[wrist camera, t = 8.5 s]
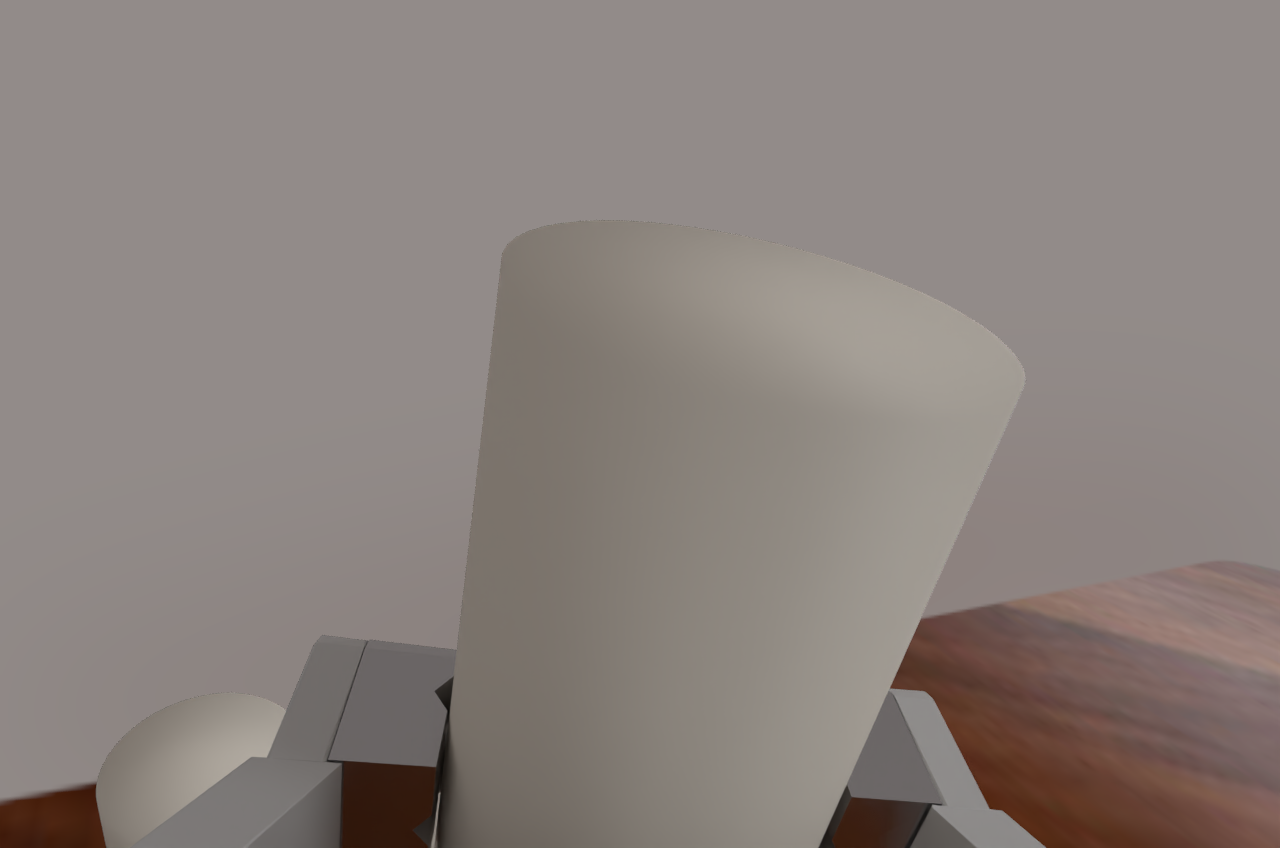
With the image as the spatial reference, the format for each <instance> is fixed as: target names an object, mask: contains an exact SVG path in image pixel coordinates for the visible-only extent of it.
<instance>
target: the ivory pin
mask: <svg viewBox="0 0 1280 848" xmlns="http://www.w3.org/2000/svg"><path fill="white" fill-rule="evenodd" d="M1024 385H1025V372H1024V369H1023V367H1022V365H1021V363H1020V361H1019V359H1018V358H1017V357H1016V355H1015V354H1014V353H1013V352H1012V351H1011V350H1010V348H1009V347H1008V346H1006V344H1005V343H1003V342H1002V341H1001V340H1000V339H999V338H998V337H997V336H996V335H994V334H993V333H992V332H990V331H989V330H987V329H986V328H985V327H983V326H982V325H981V324H979V323H978V322H976V321H974V320H973V319H971V318H969V317H968V316H966V315H965V314H963V313H961V312H959V311H958V310H956V309H954V308H952V307H950V306H948V305H947V304H944V303H943V302H941V301H939V300H937V299H935V298H933V297H930V296H928V295H926V294H924V293H922V292H920V291H918V290H916V289H913V288H911V287H908V286H906V285H904V284H901V283H899V282H897V281H894V280H892V279H889V278H886V277H884V276H881V275H879V274H876V273H874V272H871V271H868V270H865V269H862V268H859V267H856V266H854V265H850V264H848V263H844V262H841V261H838V260H835V259H832V258H828V257H825V256H822V255H818V254H815V253H812V252H808V251H804V250H801V249H797V248H793V247H789V246H785V245H781V244H777V243H774V242H769V241H765V240H760V239H756V238H751V237H746V236H742V235H736V234H731V233H726V232H721V231H714V230H708V229H702V228H696V227H688V226H681V225H673V224H663V223H652V222H638V221H614V220H613V221H611V220H601V221H600V220H599V221H578V222H568V223H560V224H554V225H549V226H544V227H540V228H537V229H534V230H530V231H528V232H526V233H524V234H521V235H520V236H517V237H516V238H515V239H513V240H512V241H511V242H510V243H509V244H507V246H506V248H505V249H504V251H503V253H502V259H501V269H500V278H499V286H498V294H497V303H496V312H495V321H494V330H493V338H492V347H491V356H490V364H489V373H488V382H487V390H486V399H485V408H484V417H483V426H482V435H481V443H480V452H479V461H478V469H477V478H476V487H475V496H474V505H473V513H472V521H471V531H470V539H469V548H468V556H467V565H466V574H465V583H464V591H463V600H462V609H461V618H460V627H459V635H458V645H457V653H456V661H455V670H454V679H453V687H452V696H451V705H450V714H449V722H448V731H447V740H446V749H445V757H444V766H443V775H442V784H441V792H440V801H439V810H438V819H437V827H436V836H435V845H434V848H818V847H819V845H820V843H821V841H822V838H823V836H824V834H825V832H826V830H827V827H828V825H829V823H830V821H831V818H832V816H833V814H834V812H835V809H836V807H837V805H838V803H839V800H840V798H841V796H842V794H843V791H844V789H845V787H846V785H847V782H848V780H849V778H850V776H851V774H852V771H853V769H854V767H855V765H856V762H857V760H858V758H859V756H860V753H861V751H862V749H863V747H864V744H865V742H866V740H867V738H868V735H869V733H870V731H871V729H872V727H873V724H874V722H875V720H876V718H877V715H878V713H879V711H880V709H881V706H882V704H883V702H884V700H885V697H886V695H887V693H888V691H889V688H890V686H891V684H892V682H893V680H894V677H895V675H896V673H897V671H898V668H899V666H900V664H901V662H902V659H903V657H904V655H905V653H906V650H907V648H908V646H909V644H910V641H911V639H912V637H913V635H914V633H915V630H916V628H917V626H918V624H919V621H920V619H921V617H922V615H923V612H924V610H925V608H926V606H927V603H928V601H929V599H930V597H931V594H932V592H933V590H934V588H935V585H936V583H937V581H938V579H939V576H940V574H941V572H942V570H943V567H944V565H945V563H946V561H947V559H948V556H949V554H950V552H951V550H952V547H953V545H954V543H955V541H956V538H957V536H958V534H959V532H960V530H961V527H962V525H963V523H964V521H965V518H966V516H967V514H968V512H969V509H970V507H971V505H972V503H973V500H974V498H975V496H976V494H977V491H978V489H979V487H980V485H981V483H982V480H983V478H984V476H985V474H986V471H987V469H988V467H989V464H990V462H991V460H992V458H993V456H994V453H995V451H996V449H997V447H998V444H999V442H1000V440H1001V438H1002V435H1003V433H1004V431H1005V429H1006V427H1007V424H1008V422H1009V420H1010V418H1011V415H1012V413H1013V411H1014V409H1015V406H1016V404H1017V402H1018V400H1019V397H1020V395H1021V393H1022V390H1023V388H1024Z"/></svg>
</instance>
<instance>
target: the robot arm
mask: <svg viewBox="0 0 1280 848" xmlns="http://www.w3.org/2000/svg"><path fill="white" fill-rule="evenodd" d="M456 653H457V650H453V649H445V648H436V647H427V646H419V645H410V644H402V643H393V642H385V641H376V640H369V641H366V640H358V639H350V638H342V637H333V636H326V635H322V636H321V637H320V638H319V639H318V640H317V642H316V643H315V644H314V645H313V648H312V650H311V653H310V655H309V658H308V660H307V662H306V664H305V667H304V669H303V672H302V674H301V677H300V679H299V681H298V684H297V686H296V688H295V691H294V693H293V696H292V698H291V701H290V703H289V705H288V708H287V710H286V713H285V715H284V717H283V720H282V722H281V725H280V727H279V729H278V732H277V734H276V737H275V739H274V741H273V744H272V746H271V749H270V751H269V753H268V756H267V758H266V757H250V758H249V759H248V760H246V761H245V762H244V763H242V764H241V765H240V766H238V767H237V768H236V769H234V770H233V771H232V772H230V773H229V774H228V775H226V776H225V777H224V778H222V779H221V780H220V781H218V782H217V783H216V784H214V785H213V786H212V787H210V788H209V789H208V790H206V791H205V792H204V793H202V794H201V795H200V796H198V797H197V798H196V799H194V800H193V801H192V802H190V803H189V804H188V805H186V806H185V807H184V808H182V809H181V810H180V811H178V812H177V813H176V814H174V815H173V816H172V817H170V818H169V819H168V820H166V821H165V822H164V823H162V824H161V825H160V826H158V827H157V828H156V829H154V830H153V831H152V832H150V833H149V834H148V835H146V836H145V837H144V838H142V839H141V840H140V841H138V842H137V843H136V844H134V845H133V846H132V847H130V848H431V845H432V839H433V834H434V828H435V820H436V811H437V803H438V795H439V793H440V792H441V784H442V775H443V766H444V757H445V749H446V740H447V731H448V722H449V714H450V705H451V696H452V687H453V679H454V670H455V661H456ZM818 848H1046V847H1045V846H1043V845H1042V844H1041V843H1040V842H1039V841H1037V840H1036V839H1035V838H1034V837H1033V836H1032V835H1030V834H1029V833H1028V832H1027V831H1026V830H1024V829H1023V828H1022V827H1021V826H1020V825H1019V824H1017V823H1016V822H1015V821H1014V820H1013V819H1012V818H1010V817H1009V816H1008V815H1007V814H1006V813H1004V812H1003V811H1001V810H991V809H989V807H988V805H987V803H986V801H985V799H984V797H983V795H982V793H981V791H980V789H979V787H978V785H977V783H976V781H975V779H974V777H973V776H972V774H971V772H970V770H969V768H968V766H967V764H966V762H965V760H964V758H963V756H962V754H961V752H960V750H959V748H958V746H957V744H956V742H955V740H954V739H953V737H952V735H951V733H950V731H949V729H948V727H947V725H946V723H945V721H944V719H943V717H942V715H941V713H940V711H939V709H938V707H937V705H936V704H935V702H934V700H933V698H932V697H930V696H929V695H928V694H927V693H926V692H925V691H913V690H900V689H889V691H888V693H887V695H886V697H885V700H884V702H883V704H882V706H881V709H880V711H879V713H878V715H877V718H876V720H875V722H874V724H873V727H872V729H871V731H870V733H869V735H868V738H867V740H866V742H865V744H864V747H863V749H862V751H861V753H860V756H859V758H858V760H857V762H856V765H855V767H854V769H853V771H852V774H851V776H850V778H849V780H848V782H847V785H846V787H845V789H844V791H843V794H842V796H841V798H840V800H839V803H838V805H837V807H836V809H835V812H834V814H833V816H832V818H831V821H830V823H829V825H828V827H827V830H826V832H825V834H824V836H823V838H822V841H821V843H820V845H819V847H818Z"/></svg>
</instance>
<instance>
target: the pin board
mask: <svg viewBox="0 0 1280 848" xmlns="http://www.w3.org/2000/svg"><path fill="white" fill-rule="evenodd" d="M285 713H286V710H285V709H283V708H282V707H281V706H279V705H278V704H276V703H274V702H272V701H270V700H267V699H265V698H262V697H259V696H254V695H250V694H243V693H216V694H209V695H203V696H198V697H194V698H190V699H187V700H184V701H181V702H178V703H176V704H173V705H171V706H168V707H166V708H164V709H162V710H160V711H158V712H156V713H154V714H152V715H151V716H149V717H148V718H146V719H145V720H143V721H142V722H140V723H139V724H138V725H136V726H135V727H134V728H132V729H131V730H130V731H129V732H128V733H127V734H126V735H125V736H124V737H122V739H121V740H120V741H119V742H118V743H117V744H116V746H114V748H113V749H112V751H111V752H110V753H109V755H108V757H107V758H106V760H105V762H104V764H103V766H102V768H101V771H100V773H99V776H98V780H97V786H96V800H97V805H98V810H99V814H100V819H101V824H102V829H103V834H104V839H105V844H106V848H130V847H132V846H133V845H134V844H136V843H137V842H138V841H140V840H141V839H142V838H144V837H145V836H146V835H148V834H149V833H150V832H152V831H153V830H154V829H156V828H157V827H158V826H160V825H161V824H162V823H164V822H165V821H166V820H168V819H169V818H170V817H172V816H173V815H174V814H176V813H177V812H178V811H180V810H181V809H182V808H184V807H185V806H186V805H188V804H189V803H190V802H192V801H193V800H194V799H196V798H197V797H198V796H200V795H201V794H202V793H204V792H205V791H206V790H208V789H209V788H210V787H212V786H213V785H214V784H216V783H217V782H218V781H220V780H221V779H222V778H224V777H225V776H226V775H228V774H229V773H230V772H232V771H233V770H234V769H236V768H237V767H238V766H240V765H241V764H242V763H244V762H245V761H246V760H248V759H249V758H250V757H266V758H267V756H268V753H269V751H270V749H271V746H272V744H273V741H274V739H275V737H276V734H277V732H278V729H279V727H280V725H281V722H282V720H283V717H284V715H285ZM439 801H440V793H439V795H438V803H437V811H436V820H435V828H434V834H433V839H432V845H431V848H434V845H435V836H436V827H437V819H438V810H439Z"/></svg>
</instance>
